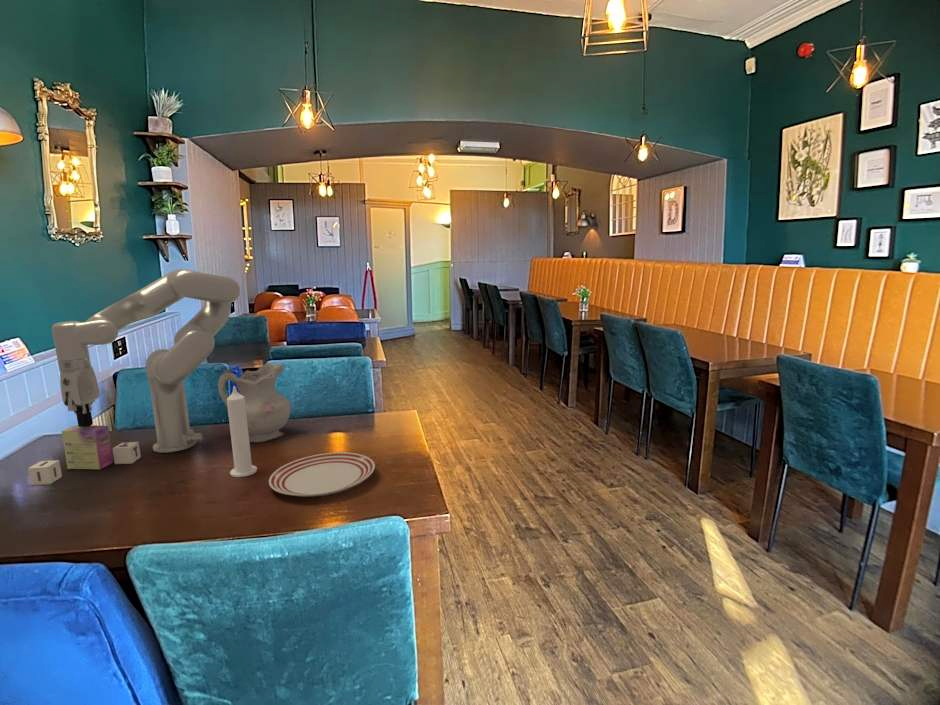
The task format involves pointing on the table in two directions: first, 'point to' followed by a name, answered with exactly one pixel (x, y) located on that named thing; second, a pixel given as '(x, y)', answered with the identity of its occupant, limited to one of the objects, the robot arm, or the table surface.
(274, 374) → the ceramic pitcher
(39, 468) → the block one
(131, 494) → the table surface
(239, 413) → the candle
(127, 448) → the block seven
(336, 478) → the dinner plate
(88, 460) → the box
